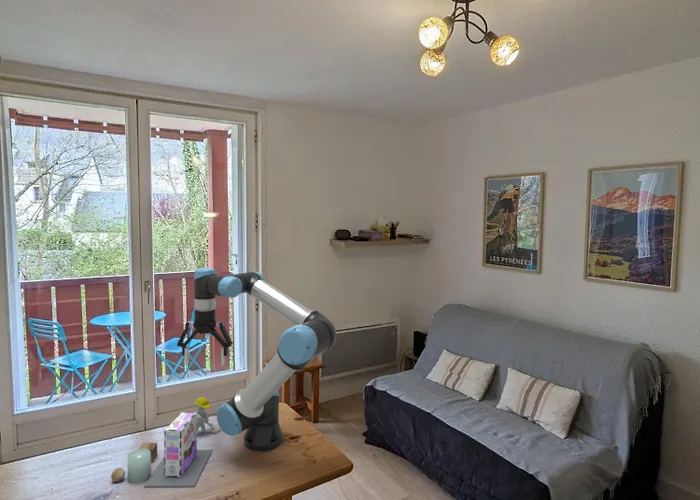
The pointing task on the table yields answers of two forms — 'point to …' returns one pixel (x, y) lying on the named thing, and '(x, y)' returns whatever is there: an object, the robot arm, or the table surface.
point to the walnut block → (151, 447)
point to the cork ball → (118, 474)
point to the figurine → (202, 413)
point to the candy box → (180, 445)
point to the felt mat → (186, 479)
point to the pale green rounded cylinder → (139, 465)
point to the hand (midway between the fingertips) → (205, 364)
